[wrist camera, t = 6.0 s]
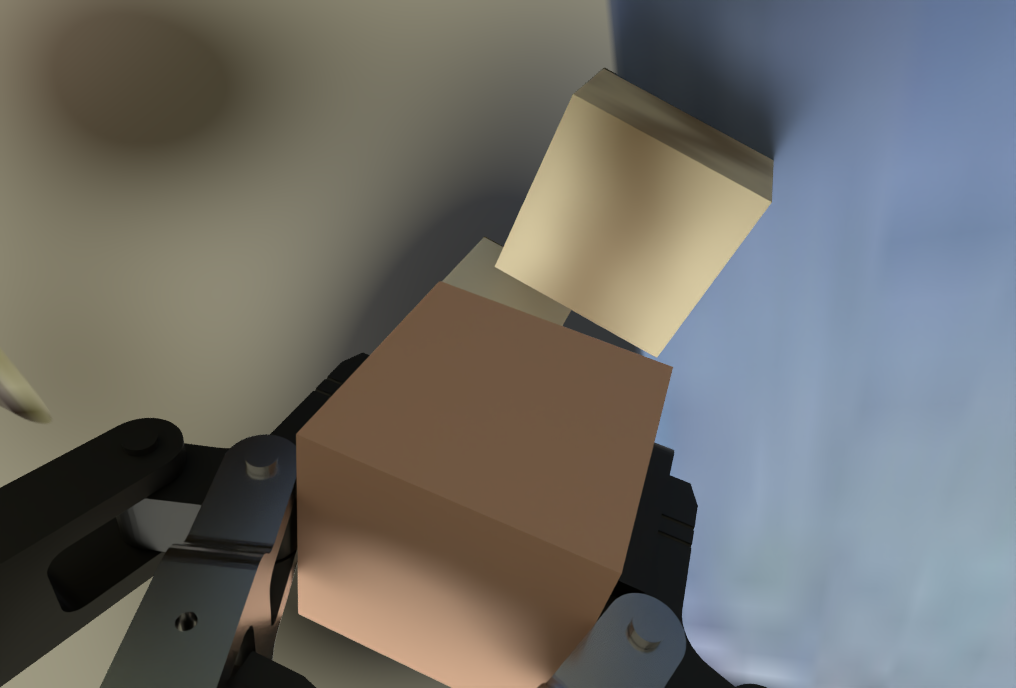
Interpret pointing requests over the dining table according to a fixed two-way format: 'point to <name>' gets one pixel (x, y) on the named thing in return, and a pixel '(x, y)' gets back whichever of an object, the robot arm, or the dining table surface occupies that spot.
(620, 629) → the robot arm
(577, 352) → the terracotta cube
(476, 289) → the cream cube
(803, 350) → the dining table surface
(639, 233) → the beech block
